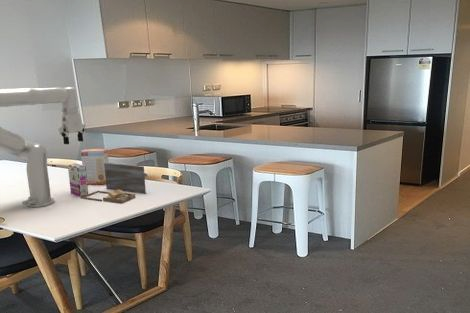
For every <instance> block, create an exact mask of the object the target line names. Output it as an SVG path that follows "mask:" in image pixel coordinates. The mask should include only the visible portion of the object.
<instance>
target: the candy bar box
mask: <svg viewBox="0 0 470 313" xmlns="http://www.w3.org/2000/svg"><path fill="white" fill-rule="evenodd" d="M67 168H68V179H69V188H70V194H71V195H75V196H78V197H80V198H81V197H83V196H85V195H88V194H89V188H88V187H89V186H88V185H87V175H86V166H84V165H82V164H80V163H70V164H67Z"/></svg>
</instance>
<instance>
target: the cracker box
mask: <svg viewBox="0 0 470 313" xmlns="http://www.w3.org/2000/svg"><path fill="white" fill-rule="evenodd" d="M80 156H81V157H80V158H81V165H84V166H86V175H87V186H88V185H89V186H91V185H94V186H95V185H99V186H100V185H103V186H106V178H105V167H104V163H109V155H108V149H107V148H87V149H85V148H84V149H82V150H80Z"/></svg>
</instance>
